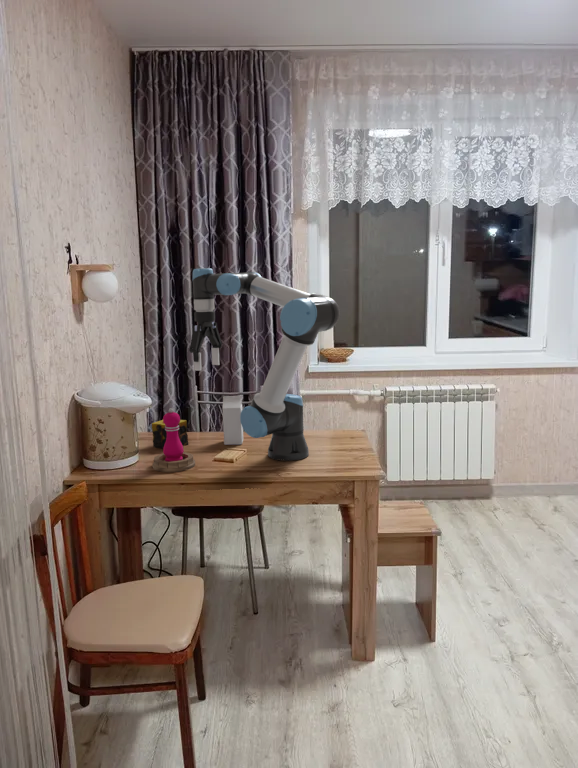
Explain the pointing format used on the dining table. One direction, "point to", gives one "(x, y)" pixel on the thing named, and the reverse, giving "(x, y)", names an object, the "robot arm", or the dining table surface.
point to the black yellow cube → (161, 433)
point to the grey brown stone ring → (173, 463)
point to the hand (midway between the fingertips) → (207, 367)
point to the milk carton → (232, 420)
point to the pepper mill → (172, 437)
